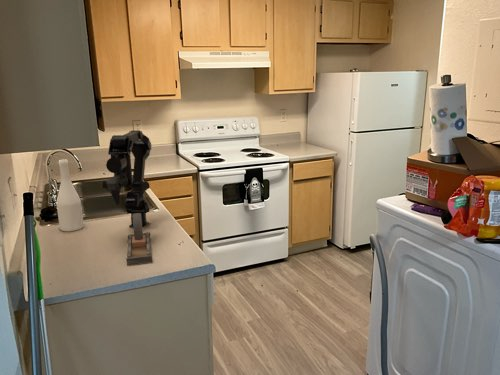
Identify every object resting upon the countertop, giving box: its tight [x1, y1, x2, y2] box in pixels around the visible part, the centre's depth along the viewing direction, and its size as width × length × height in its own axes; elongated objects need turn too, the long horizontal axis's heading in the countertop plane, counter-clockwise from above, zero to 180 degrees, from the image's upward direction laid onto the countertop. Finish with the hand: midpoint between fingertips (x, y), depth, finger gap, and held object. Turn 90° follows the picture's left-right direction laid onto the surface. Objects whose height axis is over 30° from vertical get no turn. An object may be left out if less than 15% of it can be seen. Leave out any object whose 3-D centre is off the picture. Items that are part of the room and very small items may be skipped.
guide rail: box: [125, 232, 153, 266], centre depth 151 cm, size 23×8×3 cm, turn 15°
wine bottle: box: [56, 158, 85, 232], centre depth 172 cm, size 10×10×30 cm
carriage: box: [132, 213, 146, 248], centre depth 154 cm, size 7×5×12 cm
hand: (127, 205), depth 163 cm, fingers open, 9 cm apart
